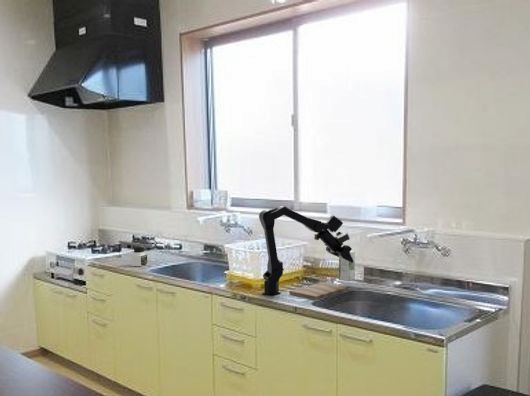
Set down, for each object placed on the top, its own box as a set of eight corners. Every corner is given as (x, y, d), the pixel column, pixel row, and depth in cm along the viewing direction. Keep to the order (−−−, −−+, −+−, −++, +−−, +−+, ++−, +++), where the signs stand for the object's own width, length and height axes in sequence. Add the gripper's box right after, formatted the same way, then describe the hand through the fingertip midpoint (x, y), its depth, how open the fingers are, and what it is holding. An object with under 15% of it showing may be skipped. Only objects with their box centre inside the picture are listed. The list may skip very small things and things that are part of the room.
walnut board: (315, 299, 239) (315, 296, 238) (289, 294, 250) (289, 291, 250) (348, 290, 255) (348, 287, 255) (322, 285, 267) (322, 282, 267)
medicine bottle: (141, 267, 325) (140, 247, 324) (131, 266, 327) (130, 247, 326) (147, 264, 331) (147, 245, 331) (137, 264, 334) (137, 245, 333)
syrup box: (344, 278, 267) (344, 249, 266) (355, 279, 263) (354, 250, 262) (338, 280, 262) (338, 251, 261) (349, 281, 259) (349, 252, 258)
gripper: (347, 229, 251) (368, 251, 255) (331, 225, 269) (351, 245, 273) (332, 246, 249) (353, 268, 253) (317, 241, 267) (337, 261, 271)
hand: (349, 260), depth 262 cm, fingers closed on syrup box, 7 cm apart
